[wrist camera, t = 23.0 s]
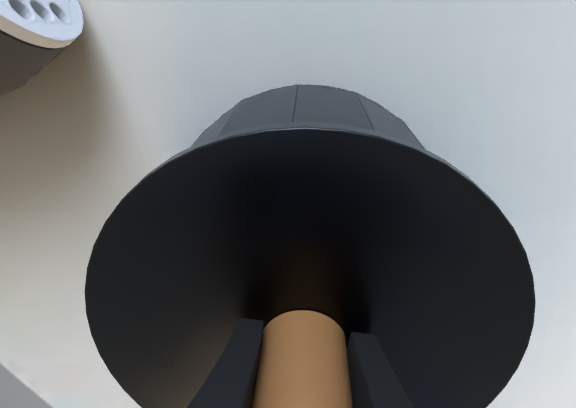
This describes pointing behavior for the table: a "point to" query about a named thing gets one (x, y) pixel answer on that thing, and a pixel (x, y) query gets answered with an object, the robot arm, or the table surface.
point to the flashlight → (34, 36)
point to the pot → (309, 112)
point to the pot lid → (310, 270)
